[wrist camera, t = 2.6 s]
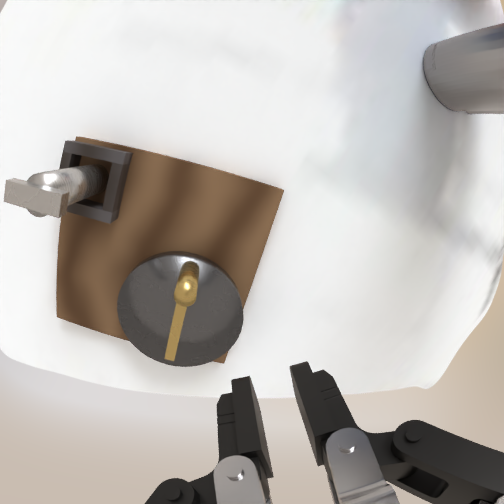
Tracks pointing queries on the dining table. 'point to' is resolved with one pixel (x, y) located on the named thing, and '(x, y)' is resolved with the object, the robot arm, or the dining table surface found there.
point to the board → (153, 226)
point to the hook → (56, 189)
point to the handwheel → (180, 309)
